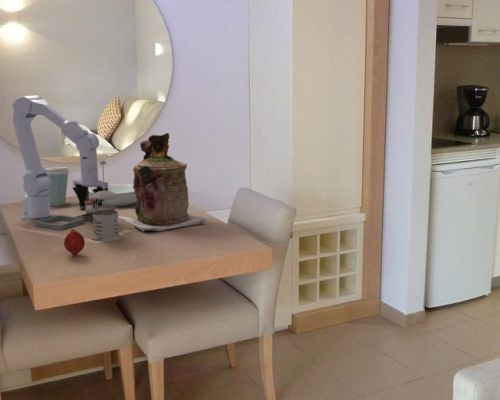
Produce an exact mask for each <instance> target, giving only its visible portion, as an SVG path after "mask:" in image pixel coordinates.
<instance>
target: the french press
mask: <svg viewBox="0 0 500 400" xmlns="http://www.w3.org/2000/svg"><path fill="white" fill-rule="evenodd" d="M106 164H107V162H106V160H100V161H99V165H100V166H104V165H106ZM102 182H103V185H104V182H105V172H104V168H102ZM116 197H117V194H115V193H113V192H111V191H106V190H103V191H99V192H96V193H94V194H93V195H92V198H94V199H99V202H102V206H100V207H99V206H98V201H97V207H95V208H94V210H95V211H96V212H94V213H93V222H92V223H93V236H94V237H96V239H95V238H91V240H93V241H95V242H112V240H113V241H117V240H119V239H122V237H123V235H122V234H121V233H120V231H119V218H118V217H119V216H118V215H119V214H118V211H117V207H115V206H108V205H106V206H103V202H104V205H105V199H113V198H116ZM100 200H102V201H100ZM103 200H104V201H103ZM101 212H103V215H101ZM94 220H95V221H94Z"/></svg>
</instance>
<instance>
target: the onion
mask: <svg viewBox="0 0 500 400" xmlns="http://www.w3.org/2000/svg"><path fill="white" fill-rule="evenodd" d="M85 241H86V240H85V238H84V236H83V235H82V234H81V233H80V232H78V231H77V230H76V229H75V228H72V229H70V232H68V233H67V235H66V236H65V238H64V240H63V246H64V248H65V250H66V251H67V252H68V253H70V254H72V256H78V254H79V253H81V252H82V251H83V250H84V248H85V245H86V242H85Z"/></svg>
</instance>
